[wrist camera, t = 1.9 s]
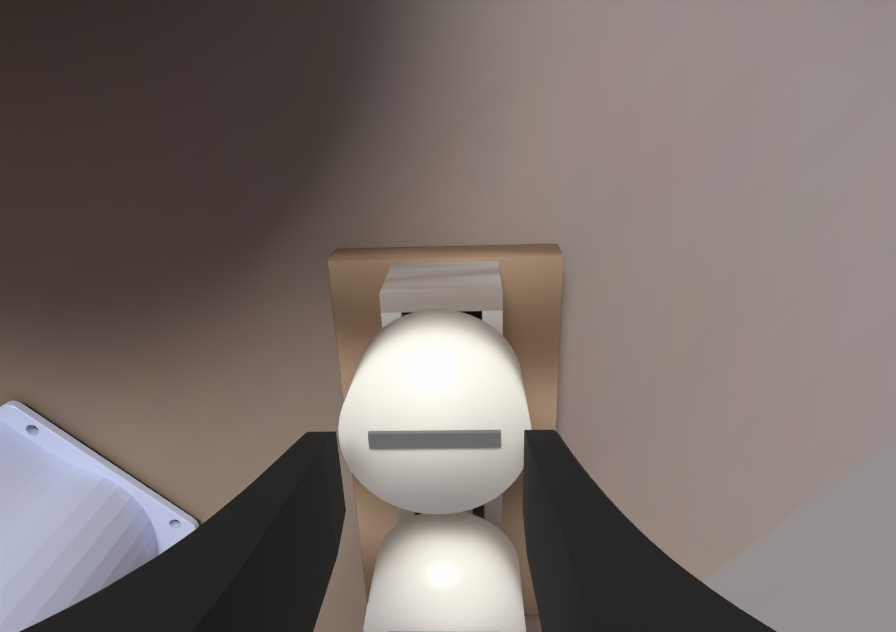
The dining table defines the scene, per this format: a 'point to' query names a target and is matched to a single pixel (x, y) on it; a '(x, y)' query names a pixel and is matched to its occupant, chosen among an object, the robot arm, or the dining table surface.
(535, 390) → the knob panel
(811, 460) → the dining table surface
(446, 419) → the knob inner
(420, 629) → the knob middle
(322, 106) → the dining table surface
